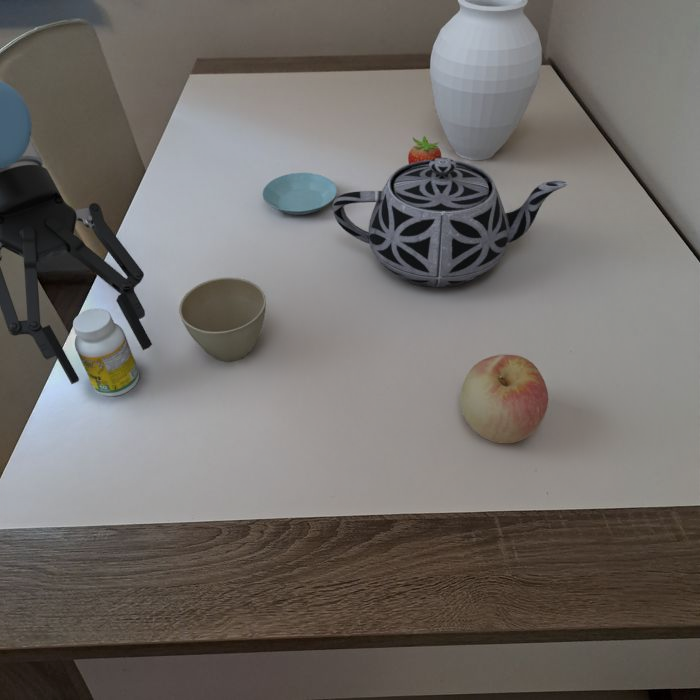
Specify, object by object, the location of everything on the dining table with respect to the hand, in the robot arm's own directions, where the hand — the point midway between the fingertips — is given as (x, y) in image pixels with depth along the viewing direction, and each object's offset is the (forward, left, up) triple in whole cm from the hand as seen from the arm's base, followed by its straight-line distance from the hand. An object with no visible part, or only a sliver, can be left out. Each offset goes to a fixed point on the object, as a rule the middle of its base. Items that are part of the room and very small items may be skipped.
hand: (112, 363), depth 72 cm
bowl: (+13, +3, -5) cm, 14 cm away
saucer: (+30, +33, -5) cm, 45 cm away
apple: (+38, -19, -5) cm, 43 cm away
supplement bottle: (-1, +2, -5) cm, 5 cm away
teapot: (+45, +11, -5) cm, 47 cm away
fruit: (+51, +32, -5) cm, 61 cm away
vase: (+64, +39, -5) cm, 75 cm away
